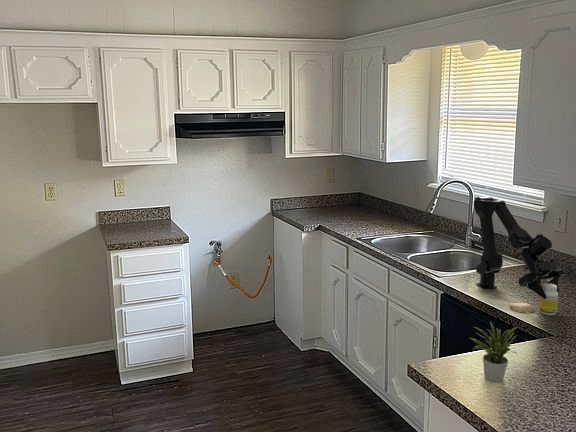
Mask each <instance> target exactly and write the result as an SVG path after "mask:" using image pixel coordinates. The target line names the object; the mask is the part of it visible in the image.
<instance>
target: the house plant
mask: <svg viewBox="0 0 576 432" xmlns="http://www.w3.org/2000/svg"><path fill="white" fill-rule="evenodd" d="M489 323H490V327H491V331H490V330H489V329H488V328H486V330H487V331H488V332H489V333H490V335H488V333H487V332H486V331H485V330H483V329H481V328H480V327H476V326H473V325H472V327H473V328H475V329H477V330H476V331H477V332H480V333H482V334H483V335H484V336H483V335H481V338H482V337H483V338H485V343H484V342H482V341H481V340H478V339H476V338H472V337H469V339H470V340H472V341H473V342H474V343H476V345H475V346H473V347H474V348H473V350H477V349H479V350H480V349H482V350H484V352H485V353H486V354H484V355H483V356H482V363H483V373H484V374H483V375H484V379H485V380H487V381H488V382H491V383H502V382H503V381H504V377H505V373H506V370H507V367H508V364H509V359H508V358H507V357H505V355H506V354H508V353H509V354H510V351H511V350H512V348H510V347H511V346H512V347H513V345H512V343H513V340H514V339H515V338H516V337H517V336H518V335H515V336H514V337H513V335H514V334H515V332H514V331H515V330H516V329H517V328H519V327H518V326H515V327H513V328H511V329H508V330H505V331H504V332H503V333H502V335H501V329H500V328H499V329H498V327H496V329H495V326H494V325H493V323H492V322H491V321H489ZM477 335H479V336H480V334H477ZM511 338H512V339H511ZM509 340H510V341H509ZM486 343H488V344H486ZM513 353H515V354H516V355H518V353H517V352H516V351H513Z"/></svg>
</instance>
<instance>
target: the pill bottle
mask: <svg viewBox="0 0 576 432" xmlns="http://www.w3.org/2000/svg"><path fill="white" fill-rule="evenodd" d="M546 283H547V284H546ZM546 283H544V284H543V290H544V292H545V294H546V297H547V298H546V299H544V298H542V297H541V296H539V308H538V309H539V310H538V311H539V313H540V314H542V315H545V314H546V316H555V315H556V314H557V311H558V302H559V297H558V292H557V291H556V290H557V286H556V285H554V284H548V282H546Z"/></svg>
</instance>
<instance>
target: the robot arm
mask: <svg viewBox="0 0 576 432" xmlns="http://www.w3.org/2000/svg"><path fill="white" fill-rule="evenodd" d="M473 206H474V207H473V208H474V212H475V213H476V215H477V216H478V218H479V223H480V229H481V231H480V232H481V239H482V247H483V252H482V254H481V257H480V263H479V264H478V265H477V266H476V267H475V271H476V272H475V273H477V274H479V282H476V283H475V284H476V285H477V286H478V287H480V288H482V289H484V290H485V289H486V290H487V289H497V288H498V286H497V285H495V282H496V281H495V280H496V279H495V277H496V275H495V274H499V273H500V271H501V269H502V268H503V263H504V260H503V254H502V253H499V252H498V250H497V246H496V240H495V239H496V238H495V231H494V222H493V215H494V212H495V214H496V215H497V217H498V219H499V220H500V222H501V224H502V225H503V226H504V228H505V229H506V231H507V234H508V237H507V238H508V241H509V243H510V245H511V247H512V249H517V254H516V258H517V259H518V258H521V259H522V261H523V263H524V264H525V266H526V267H525V268H524V270H525V271H528V272H529V273H525V274H523V276H521V277H520V278H519V279H518V285H519V287H520V288H521V287H522V288H523V287H526V288H527V289H530V290H531V291H533V292H534V293H536V295H538V296H539V297H542V298H544V299H546V298H547V297H546V294H545V292H544V290H543V289H544V287H543V286H542V284H541V283H542V281H544V280H546V281H547V282H546V283H545V284H547V283H548V284H554V285H556V286H557V290H556V291H557V292H558V298H559V297H560V296H561V295H560V288H559V280H560V279H561V278H562V277H564V276H565V272H564V270H563V269H561V268H559V269H558V267H559V266H560V262H559V260H558V259H557V258H556V257H555V258H550V259H549V260H548V261H545V260H544V259H542V260H541V259H540V257H541V256H543V255H544V254H545V253H547V252H548V251H549V250H551V249H552V246H553V244H552V243H553V242H552V240H550V239H549V238H547V237H546V236H544V235H543V234H542V233H538V234H537V235H536V236H535V237H532V236H531V235H530V234H529V232H528V231H527V230H526V229H524V228H522V227H521V226H520V224H519V223H518V222H517V220H516V218H515V217H514V216H513V213H511V212H510V210H509V208H508V206H507V203H506V201H504V200H500V199H496V198H493V197H492V196H477V197H476V198H475V199H474V200H473ZM518 249H521V250H518Z"/></svg>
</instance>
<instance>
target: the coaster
mask: <svg viewBox="0 0 576 432" xmlns="http://www.w3.org/2000/svg"><path fill="white" fill-rule="evenodd" d="M509 308H510V309H511V310H512V309H513V310H512V311H514V310H516V311H515V312H517V311H521V312H520V313H523V312H530V313H533V311H534V312H535V310H536V308H535V306H533V305H532V304H529V303H526V302H512V303H510V304H509Z"/></svg>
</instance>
